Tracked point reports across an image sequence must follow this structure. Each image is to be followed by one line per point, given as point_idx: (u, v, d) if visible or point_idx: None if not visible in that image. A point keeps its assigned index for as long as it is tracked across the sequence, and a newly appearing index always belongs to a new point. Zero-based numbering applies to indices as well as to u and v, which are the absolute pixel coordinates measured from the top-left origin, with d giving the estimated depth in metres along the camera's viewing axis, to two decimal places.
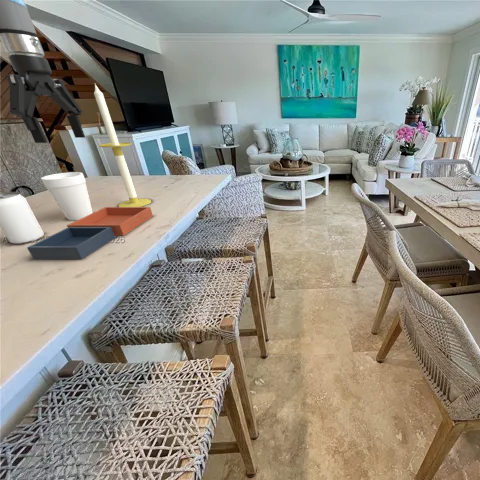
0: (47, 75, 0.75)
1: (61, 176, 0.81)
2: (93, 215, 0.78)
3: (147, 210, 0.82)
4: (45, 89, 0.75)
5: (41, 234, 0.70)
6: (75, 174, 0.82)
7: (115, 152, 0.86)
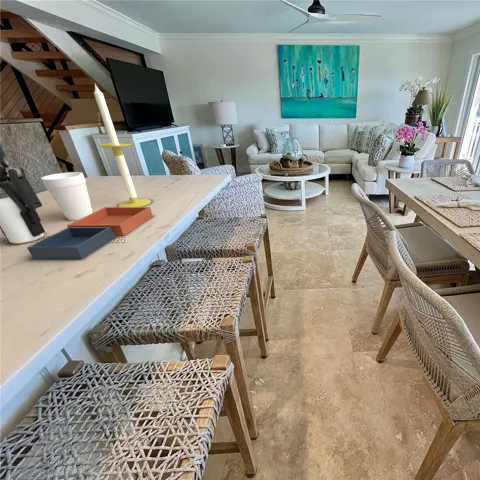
0: None
1: (61, 176, 0.81)
2: (93, 215, 0.78)
3: (147, 210, 0.82)
4: None
5: (41, 234, 0.70)
6: (75, 174, 0.82)
7: (115, 152, 0.86)
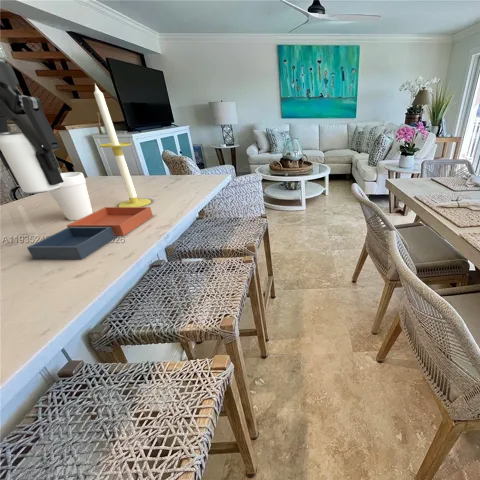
0: (0, 86, 0.49)
1: (61, 176, 0.81)
2: (93, 215, 0.78)
3: (147, 210, 0.82)
4: None
5: (59, 184, 0.60)
6: (75, 174, 0.82)
7: (115, 152, 0.86)
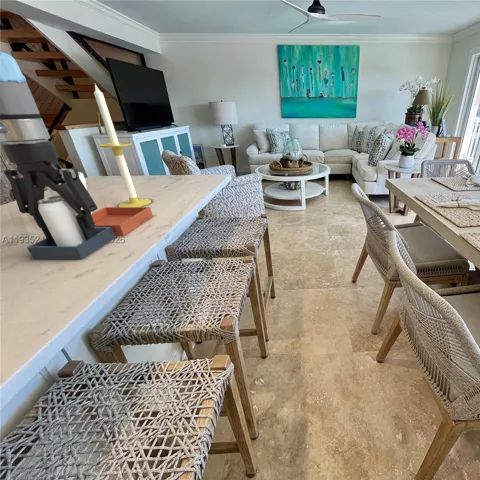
0: (44, 163, 0.55)
1: None
2: (93, 215, 0.78)
3: (147, 210, 0.82)
4: (40, 180, 0.57)
5: None
6: None
7: (115, 152, 0.86)
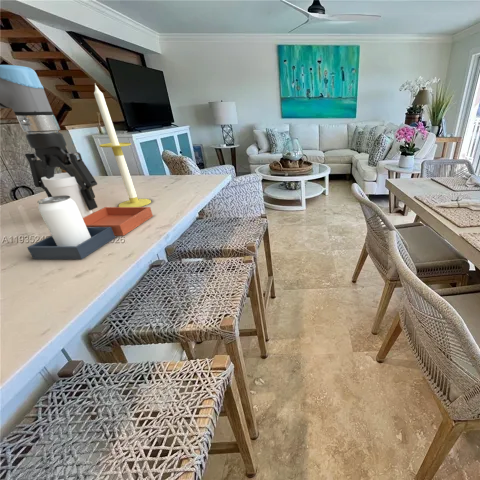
0: (56, 148, 0.74)
1: (61, 176, 0.81)
2: (93, 215, 0.78)
3: (147, 210, 0.82)
4: (53, 162, 0.75)
5: None
6: None
7: (115, 152, 0.86)
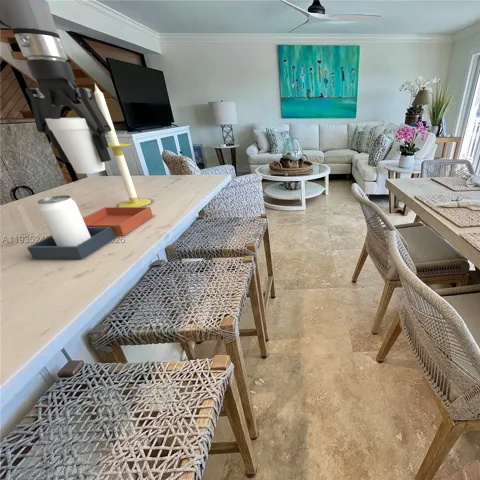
0: (63, 81, 0.61)
1: None
2: (93, 215, 0.78)
3: (147, 210, 0.82)
4: (59, 99, 0.63)
5: None
6: None
7: (115, 152, 0.86)
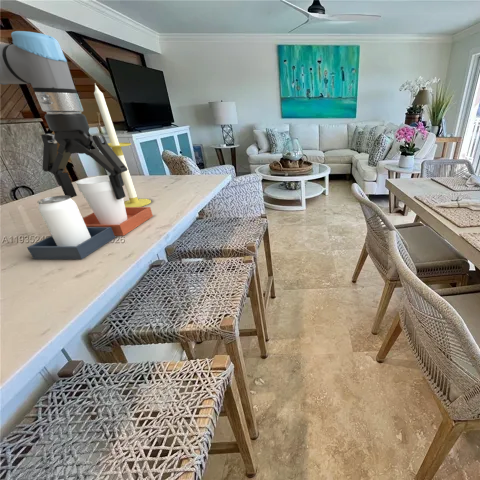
0: (78, 132, 0.65)
1: (95, 180, 0.75)
2: (93, 215, 0.78)
3: (147, 210, 0.82)
4: (74, 147, 0.66)
5: None
6: None
7: (115, 152, 0.86)
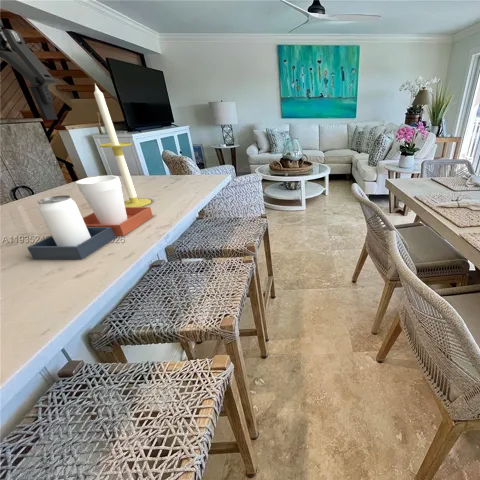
0: None
1: (95, 180, 0.75)
2: (93, 215, 0.78)
3: (147, 210, 0.82)
4: None
5: None
6: (110, 178, 0.76)
7: (115, 152, 0.86)
